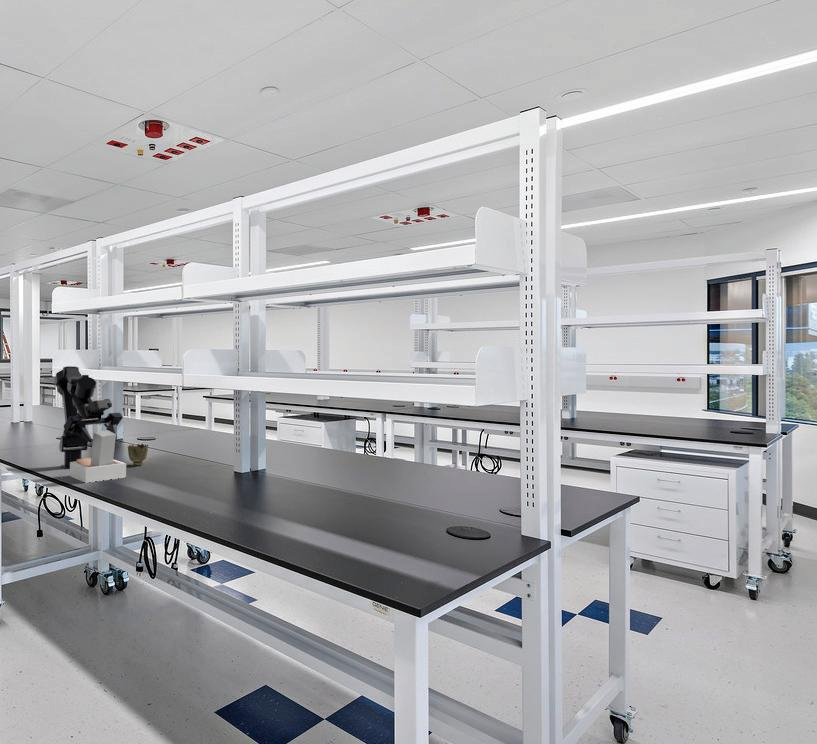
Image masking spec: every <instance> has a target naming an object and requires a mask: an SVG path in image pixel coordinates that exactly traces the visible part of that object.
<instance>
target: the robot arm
mask: <svg viewBox="0 0 817 744" xmlns="http://www.w3.org/2000/svg"><path fill="white" fill-rule="evenodd" d="M79 368H80V367H78V366H72V365H71V366H63V367H62V369H61V370H59V371H57V372H56V374H55V377H54V386H55V387H56V390H57V391H56V392H57V393H58V394H59V395H60V396H61V397H62V402H63V412H64V420H65V421H64V422H65V423H64V424H63V432H62V435H61V437H60V441H59V445H58V448H59V452H60V453H64V454H63V456H64V458H63V459H64V464H60V467H62V468H65V469H70V462H75V461H77V459H83V458H82V456H83V455H82V451H87V450H88V444H89V443H93V438H92V437H91V434H90V433H89V431H88V428H87V426H94V425H104V427H105V428H106V429H105V430H108V431H110V432H112V433H114V434H116V439H115V440H117V439H118V429H117V427H118V425H119V424H120V423H121V421H122V420H123V418H124V416H123V415H122V412H109V413H108V414H107V416H106V417H102V416H104V414H105V412H104V411H106V410H109V409H110V408H112V407H113V403H112V400H110V398H105V399H100V400H98V399H97V400H93V399H92V398H93V396H94V394H95V390H96V388H97V387H96V386H97V382H96V380H95V379H94V378H93V377H89V374H81V372H80V369H79Z"/></svg>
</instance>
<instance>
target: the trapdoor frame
mask: <svg viewBox="0 0 817 744" xmlns="http://www.w3.org/2000/svg"><path fill="white" fill-rule="evenodd" d="M113 463H114V464H113V465H104V466H96V467H86V466H84V465H81V464H78V463H77V461H75V462H70V468H69V477H70V478H73V479H76V480H78V481H80V482H83V483H84V482H85V484H88V483H89V482H90V483H96V482H95V481H97V482H102V481H103V480H104V481H111V480H110V479H112V480H118V478H119V479H125V477H126V478H127V463H125V462H122V461H119V460H117V459H114V458H113ZM104 481H103V482H104ZM90 483H89V484H90Z"/></svg>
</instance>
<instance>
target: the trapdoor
mask: <svg viewBox="0 0 817 744" xmlns="http://www.w3.org/2000/svg"><path fill="white" fill-rule="evenodd" d="M77 463H78V464H81V465H84V466H86V467H91V466H90V464H91V457H88V458H87V457H85V458H82V459H77ZM113 464H114V463H113Z"/></svg>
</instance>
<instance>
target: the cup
mask: <svg viewBox="0 0 817 744" xmlns="http://www.w3.org/2000/svg"><path fill="white" fill-rule="evenodd" d="M148 451H149V445H148V444H143V443H141V444H140V443H137V444H136V445H134V444H129V445H127V453H128V459H129V461H131V462H132V465H133V466H135V467H140V466H139V465H141V466H143V463H144V461H145V460H146V458H147V456H148Z"/></svg>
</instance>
